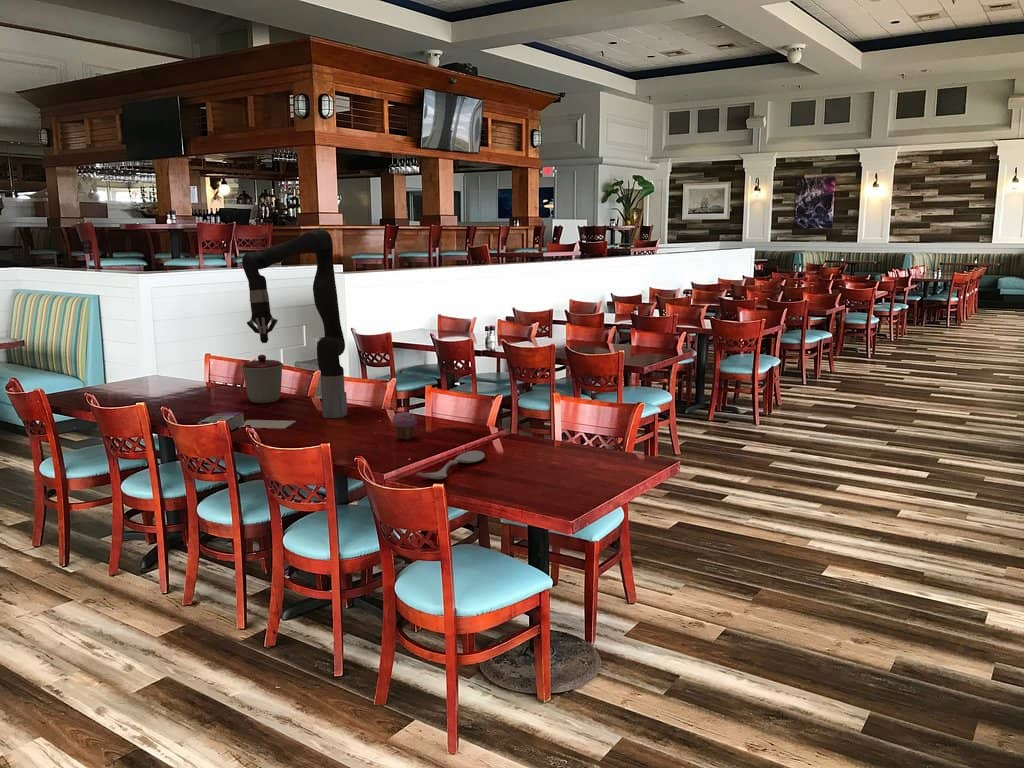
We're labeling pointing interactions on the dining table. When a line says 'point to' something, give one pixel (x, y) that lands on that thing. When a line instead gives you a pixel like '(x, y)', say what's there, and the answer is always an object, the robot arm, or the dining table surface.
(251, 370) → the canister
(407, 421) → the cupcake
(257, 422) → the placemat
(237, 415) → the candy bar box
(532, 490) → the dining table surface
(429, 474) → the spoon
